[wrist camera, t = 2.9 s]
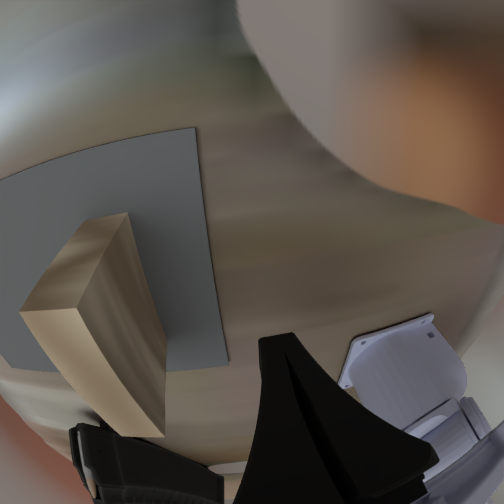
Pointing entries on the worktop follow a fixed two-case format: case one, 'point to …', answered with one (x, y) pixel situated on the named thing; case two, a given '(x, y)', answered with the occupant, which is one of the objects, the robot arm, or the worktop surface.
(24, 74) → the worktop surface
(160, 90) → the worktop surface
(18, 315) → the mat
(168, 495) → the magazine
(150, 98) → the worktop surface
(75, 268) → the tile
